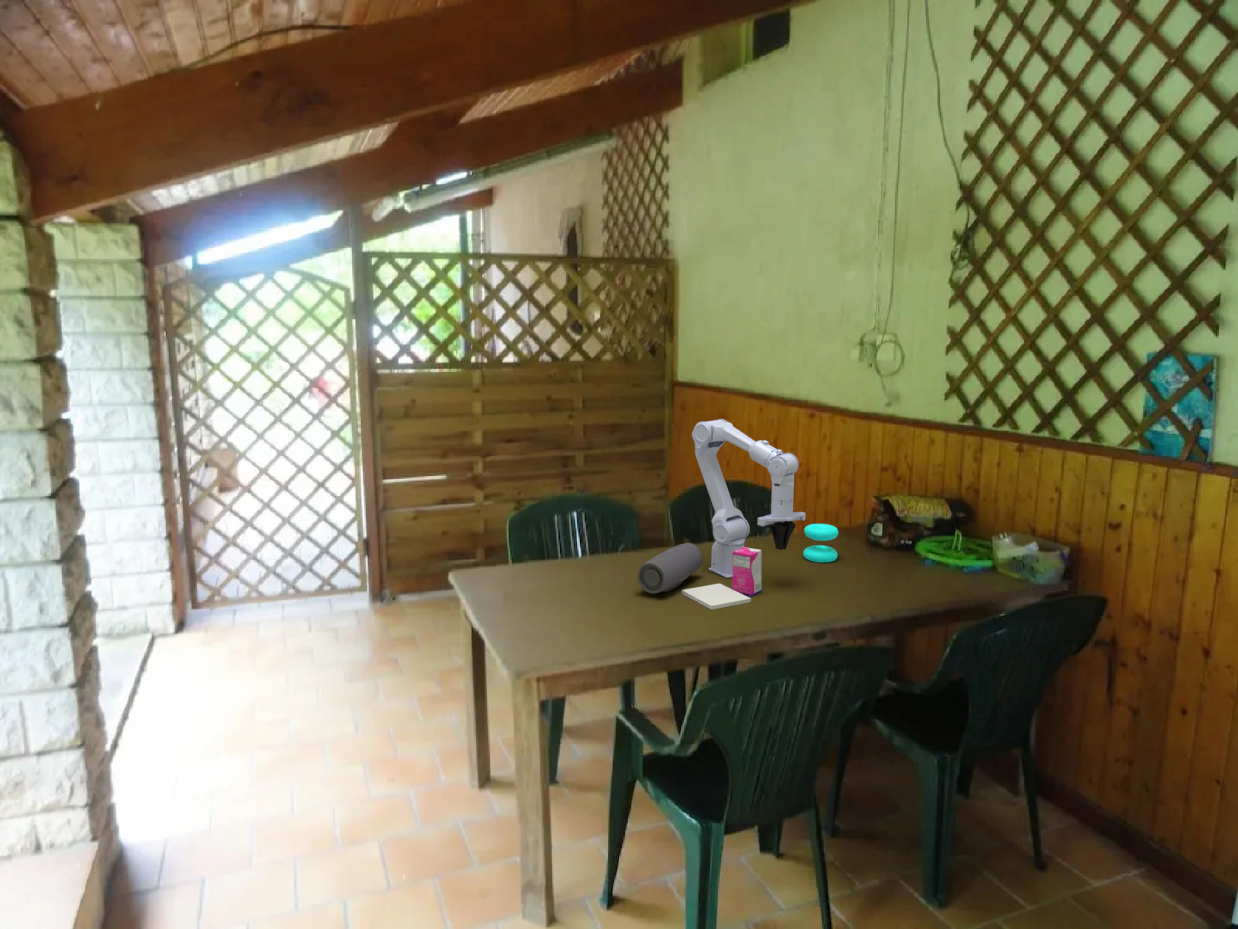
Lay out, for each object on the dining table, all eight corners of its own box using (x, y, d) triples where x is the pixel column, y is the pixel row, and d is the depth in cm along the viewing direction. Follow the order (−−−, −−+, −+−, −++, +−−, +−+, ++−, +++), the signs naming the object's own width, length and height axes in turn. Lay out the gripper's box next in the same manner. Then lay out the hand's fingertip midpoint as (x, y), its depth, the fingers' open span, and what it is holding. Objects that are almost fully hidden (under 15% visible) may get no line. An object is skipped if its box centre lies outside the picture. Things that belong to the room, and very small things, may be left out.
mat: (681, 593, 217) (681, 590, 217) (719, 586, 223) (719, 583, 222) (711, 609, 205) (711, 606, 205) (750, 602, 210) (750, 598, 210)
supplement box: (742, 587, 222) (743, 546, 220) (762, 591, 218) (763, 550, 217) (731, 592, 218) (732, 550, 216) (750, 597, 214) (751, 554, 212)
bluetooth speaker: (674, 572, 236) (674, 538, 234) (704, 577, 231) (704, 543, 229) (635, 595, 216) (635, 558, 215) (666, 601, 212) (666, 563, 210)
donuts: (845, 528, 244) (818, 532, 240) (844, 561, 246) (817, 565, 242) (824, 521, 253) (797, 524, 249) (822, 552, 255) (796, 556, 251)
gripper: (769, 505, 212) (768, 556, 215) (813, 499, 219) (811, 548, 221) (753, 499, 218) (752, 549, 221) (796, 494, 225) (795, 542, 227)
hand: (780, 548), depth 221 cm, fingers closed
